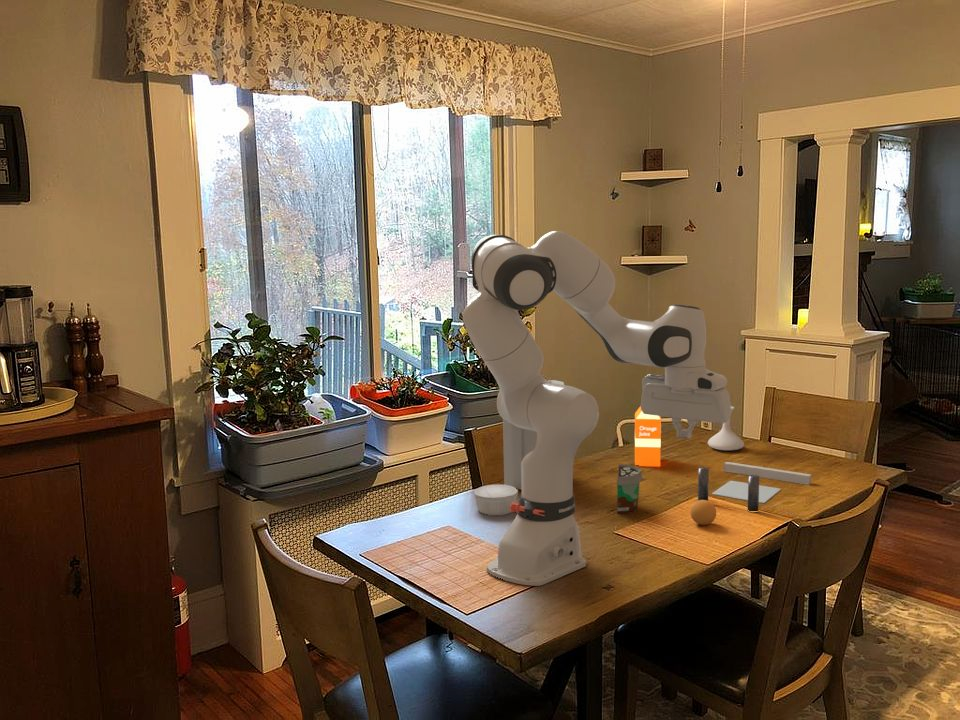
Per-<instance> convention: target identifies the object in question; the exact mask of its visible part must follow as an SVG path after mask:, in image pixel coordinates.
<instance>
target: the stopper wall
mask: <svg viewBox="0 0 960 720" xmlns="http://www.w3.org/2000/svg"><path fill="white" fill-rule="evenodd" d="M723 472H724V473H725V472H726V473H732V474H736V475H737V474H738V475H743V476H749V475H758V476H759V478H762V479H769V480H775V481H781V482H787V483H788V482H789V483H793V484H799V485H800V484H801V485H806V486H809V485H811V484H812V474H810V473H804V472H803V473H802V472H798V471H790V470H784V469H783V470H782V469H777V468H771V467H765V466H764V467H763V466H758V465H752V464H751V465H750V464H745V463H744V464H743V463H739V462H738V463H737V462H732V461H731V462H730V461H726V462H724V463H723Z"/></svg>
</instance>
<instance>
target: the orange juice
mask: <svg viewBox="0 0 960 720" xmlns="http://www.w3.org/2000/svg"><path fill="white" fill-rule="evenodd" d="M661 420H662V416H657V415H649V414H644V413H643V412H642V410H641V405H640V406H639V407H638V408H637V410H636V411H635V413H634V466H635V465H639V466H638V467H661V447H662V446H661V444H662V441H661V438H662V435H661V434H662V430H661V429H662V424H661V423H662V421H661Z"/></svg>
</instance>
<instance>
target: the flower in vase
mask: <svg viewBox="0 0 960 720" xmlns="http://www.w3.org/2000/svg"><path fill="white" fill-rule="evenodd" d="M720 375H722V376H724V377H725V375H724V374H723V373H722V374H720ZM730 402H732V399H731V398H730ZM735 408H736V407H735V406H732V405H731V414H732V412H733V411H734V410H735ZM707 445H708V446H709V447H710V448H712V449H715V450H718V451H737V450H740V449H743V448H744V446H745V442H744V441H743V440H742V439H741V438H740V437H739V436H738V435H737V434H735V432H734V431H732V429H731V418H730V419H729V420H728V421H727V422H725V423H722V428H721V429H720V430H719V431H718V432H717V433H716V434H714V435H713V436H711V437H710V438H709V439H708V441H707Z"/></svg>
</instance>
